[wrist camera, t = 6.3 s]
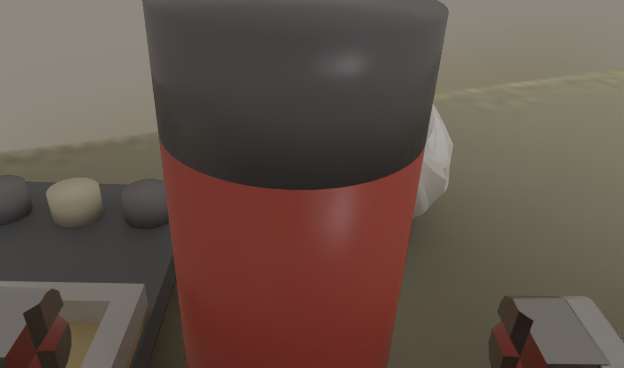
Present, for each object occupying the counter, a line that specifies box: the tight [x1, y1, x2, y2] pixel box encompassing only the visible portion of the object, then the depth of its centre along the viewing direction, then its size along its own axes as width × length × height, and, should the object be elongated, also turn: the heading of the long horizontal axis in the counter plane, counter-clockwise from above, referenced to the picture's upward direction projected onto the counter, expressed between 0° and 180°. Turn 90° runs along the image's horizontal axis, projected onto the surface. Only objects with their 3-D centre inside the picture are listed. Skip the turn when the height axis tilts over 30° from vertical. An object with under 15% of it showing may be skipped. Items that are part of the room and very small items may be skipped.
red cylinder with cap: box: [142, 0, 448, 368], centre depth 10 cm, size 4×4×12 cm
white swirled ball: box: [413, 104, 453, 219], centre depth 23 cm, size 8×8×8 cm
